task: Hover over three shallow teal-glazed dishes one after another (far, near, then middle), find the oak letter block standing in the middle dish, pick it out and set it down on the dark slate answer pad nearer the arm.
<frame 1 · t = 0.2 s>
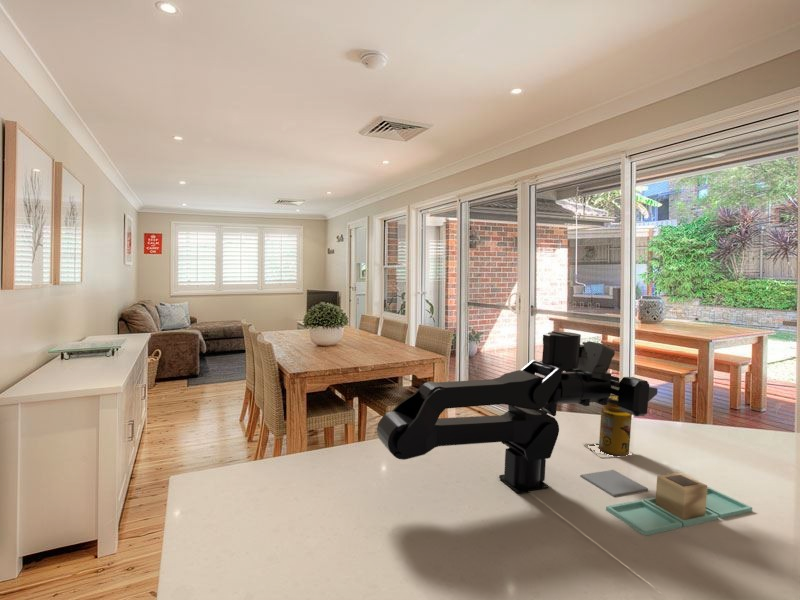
hand: (636, 385, 92), 17 cm above the kitchen island, tool horizontal, fingers open, 9 cm apart
condiment: (609, 452, 102), on the kitchen island
dish far: (713, 505, 79), on the kitchen island
answer pad: (613, 484, 85), on the kitchen island
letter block: (679, 510, 76), resting on dish middle
dish near: (642, 520, 73), on the kitchen island
dish middle: (679, 512, 76), on the kitchen island
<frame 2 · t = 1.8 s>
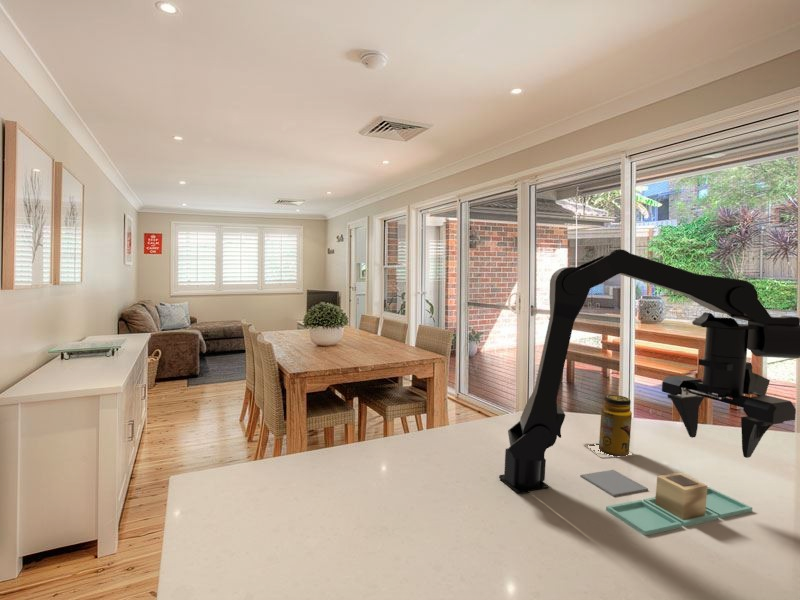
hand: (718, 446, 78), 10 cm above the kitchen island, tool pointing down, fingers open, 9 cm apart
nothing on the kitchen island moved.
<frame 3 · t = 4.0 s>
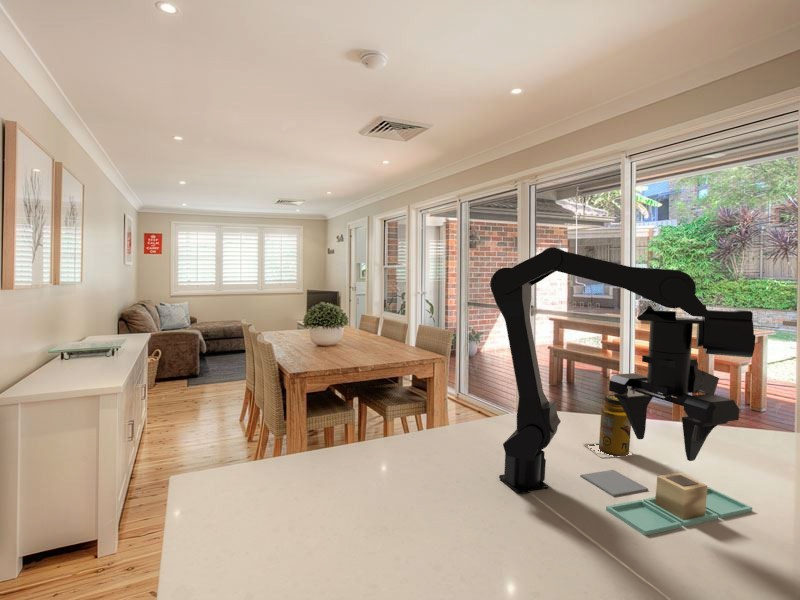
hand: (664, 449, 73), 11 cm above the kitchen island, tool pointing down, fingers open, 9 cm apart
nothing on the kitchen island moved.
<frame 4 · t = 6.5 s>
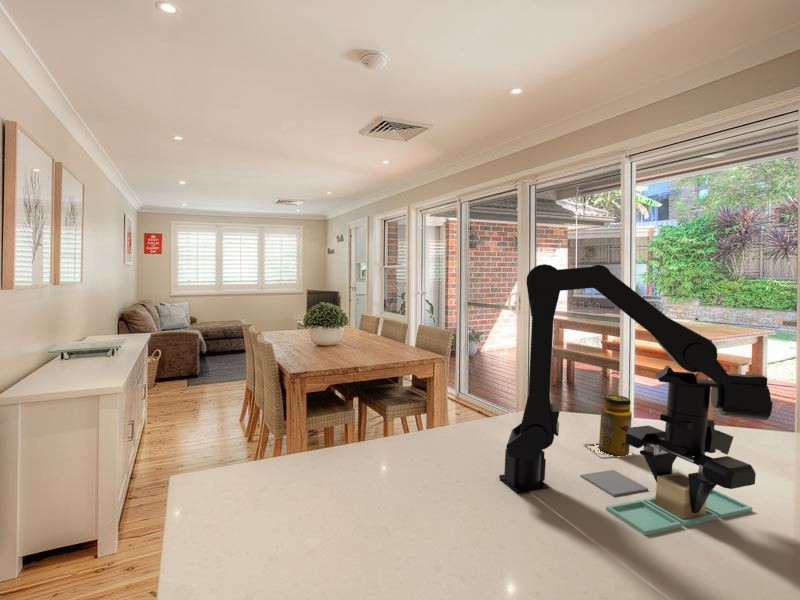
hand: (680, 504, 76), 1 cm above the kitchen island, tool pointing down, fingers closed on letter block, 5 cm apart
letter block: (679, 510, 76), resting on dish middle, touching gripper
everything else where it was.
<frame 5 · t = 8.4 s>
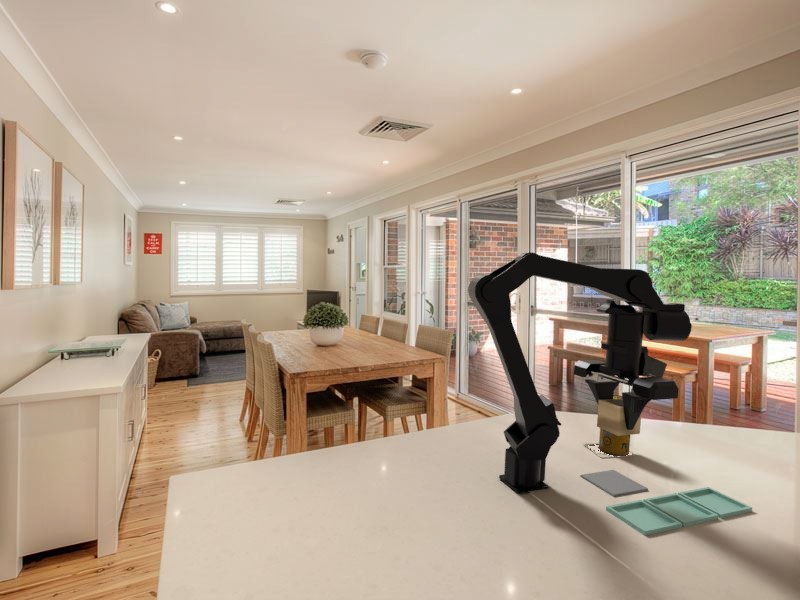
hand: (618, 424, 84), 11 cm above the kitchen island, tool pointing down, fingers closed on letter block, 5 cm apart
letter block: (617, 430, 84), point 10 cm above the kitchen island, touching gripper
everything else where it was.
when the fingers open (3 cm above the kitchen island, at t = 10.3 s): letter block drops 2 cm, resting on answer pad.
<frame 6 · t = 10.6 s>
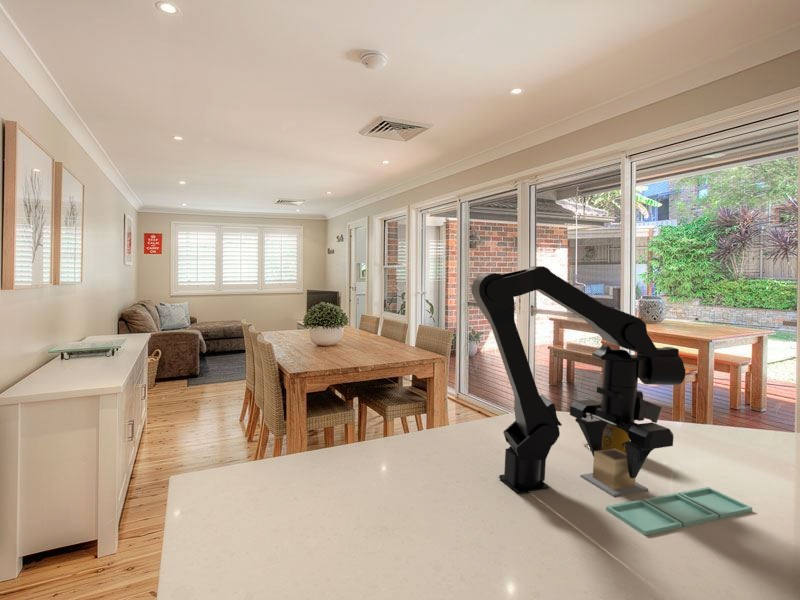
hand: (614, 467, 85), 3 cm above the kitchen island, tool pointing down, fingers open, 8 cm apart
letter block: (613, 481, 85), point 1 cm above the kitchen island, touching answer pad
everything else where it was.
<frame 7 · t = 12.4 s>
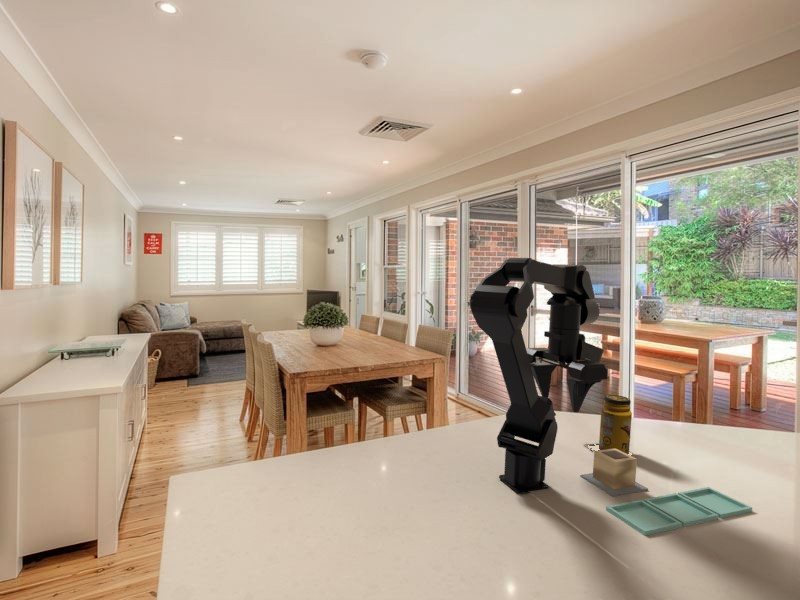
hand: (559, 405, 93), 12 cm above the kitchen island, tool pointing down, fingers open, 9 cm apart
nothing on the kitchen island moved.
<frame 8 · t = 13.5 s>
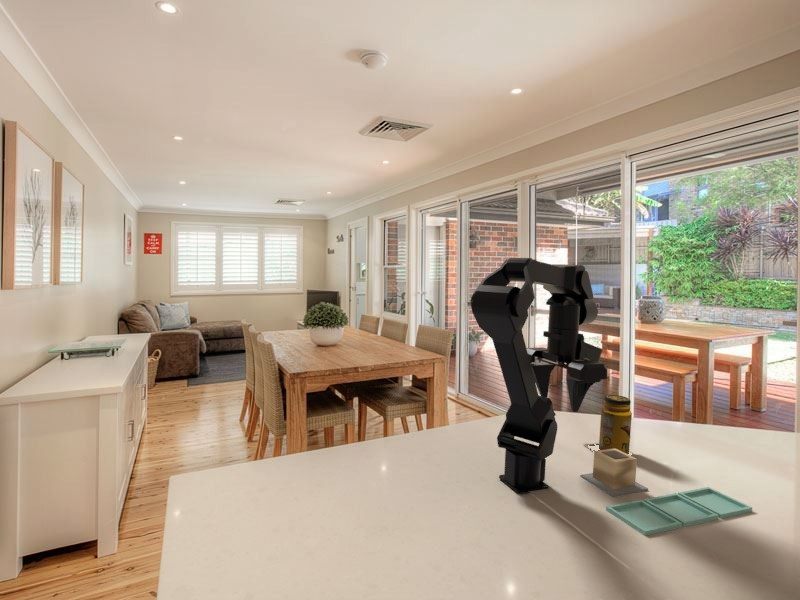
hand: (559, 404, 93), 12 cm above the kitchen island, tool pointing down, fingers open, 9 cm apart
nothing on the kitchen island moved.
at the end: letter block inside the target area on the answer pad (0.0 cm from its centre), point 0.6 cm above the answer pad's base; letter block tilted 0°; the gripper is holding nothing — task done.
